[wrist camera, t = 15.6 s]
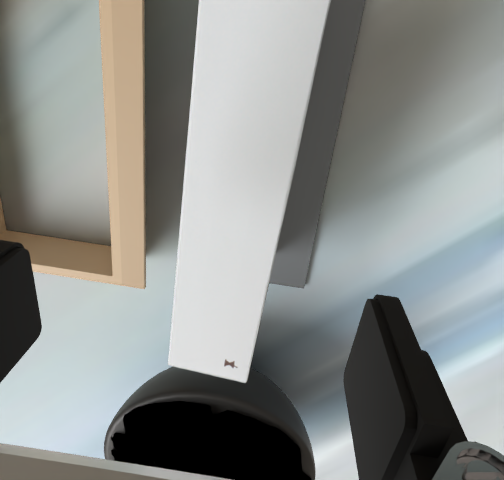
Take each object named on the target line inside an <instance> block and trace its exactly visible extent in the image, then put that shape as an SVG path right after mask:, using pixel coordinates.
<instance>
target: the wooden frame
mask: <svg viewBox="0 0 504 480" xmlns="http://www.w3.org/2000/svg"><path fill="white" fill-rule="evenodd" d="M99 12H100V32H101V52H102V72H103V92H104V112H105V132H106V152H107V172H108V192H109V212H110V232H111V246H106V245H99V244H93V243H86V242H80V241H73V240H67V239H61V238H54V237H48V236H41V235H35V234H28V233H22V232H15V231H9V230H6V225H5V220H4V214H3V209H2V203H1V198H0V240H5V241H12V242H19V243H21V244H22V245H23V246H24V248H25V249H27V250H28V251H29V253H30V259H31V265H32V271H33V272H40V273H46V274H52V275H59V276H65V277H71V278H78V279H84V280H90V281H96V282H103V283H109V284H115V285H122V286H128V287H134V288H141V289H145V287H146V221H145V23H144V0H99Z"/></svg>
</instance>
